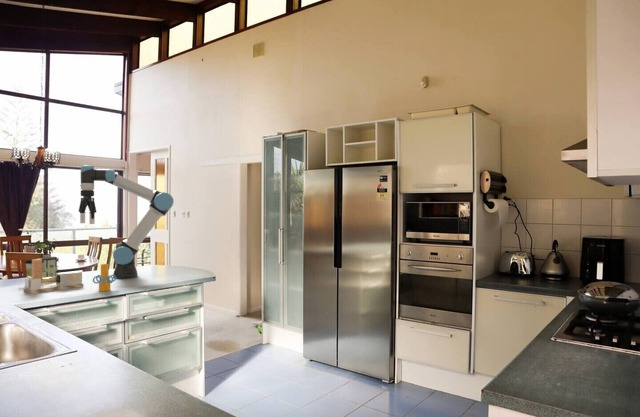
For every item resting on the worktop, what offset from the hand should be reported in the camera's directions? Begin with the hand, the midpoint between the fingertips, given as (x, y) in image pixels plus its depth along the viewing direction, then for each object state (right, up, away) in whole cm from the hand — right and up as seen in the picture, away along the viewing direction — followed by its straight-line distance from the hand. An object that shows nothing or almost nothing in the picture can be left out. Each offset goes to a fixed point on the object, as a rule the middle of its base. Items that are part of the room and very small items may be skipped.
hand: (87, 223), depth 278 cm
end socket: (-13, -35, -32) cm, 50 cm away
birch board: (-7, -37, -24) cm, 45 cm away
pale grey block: (-1, -35, -18) cm, 40 cm away
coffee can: (-30, -37, +8) cm, 48 cm away
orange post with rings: (+24, -37, -26) cm, 52 cm away
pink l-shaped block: (-9, -33, -27) cm, 43 cm away
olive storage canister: (-28, -37, -9) cm, 47 cm away
